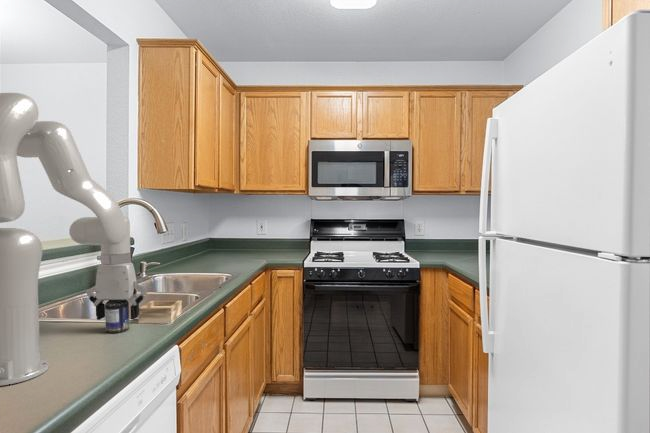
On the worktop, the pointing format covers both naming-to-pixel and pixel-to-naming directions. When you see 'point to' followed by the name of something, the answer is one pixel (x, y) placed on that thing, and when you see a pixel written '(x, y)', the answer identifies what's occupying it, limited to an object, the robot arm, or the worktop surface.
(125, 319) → the pill bottle
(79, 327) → the worktop surface
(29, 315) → the robot arm
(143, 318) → the wooden tray
